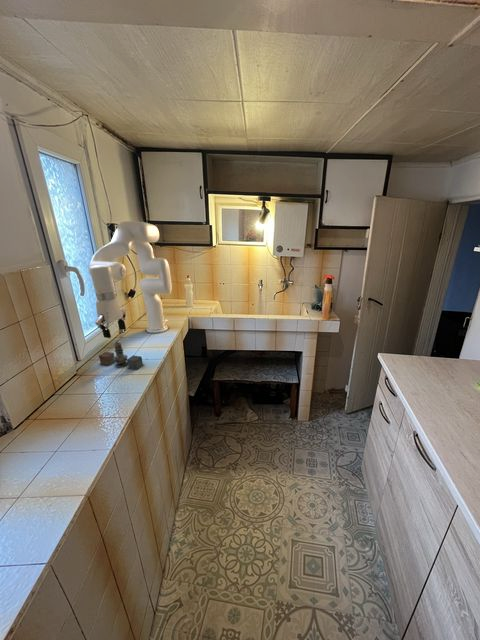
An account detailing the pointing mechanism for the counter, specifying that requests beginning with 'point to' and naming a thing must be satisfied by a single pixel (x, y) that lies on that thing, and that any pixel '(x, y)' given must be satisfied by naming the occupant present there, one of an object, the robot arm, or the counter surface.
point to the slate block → (135, 362)
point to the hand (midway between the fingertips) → (115, 333)
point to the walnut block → (107, 358)
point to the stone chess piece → (120, 356)
